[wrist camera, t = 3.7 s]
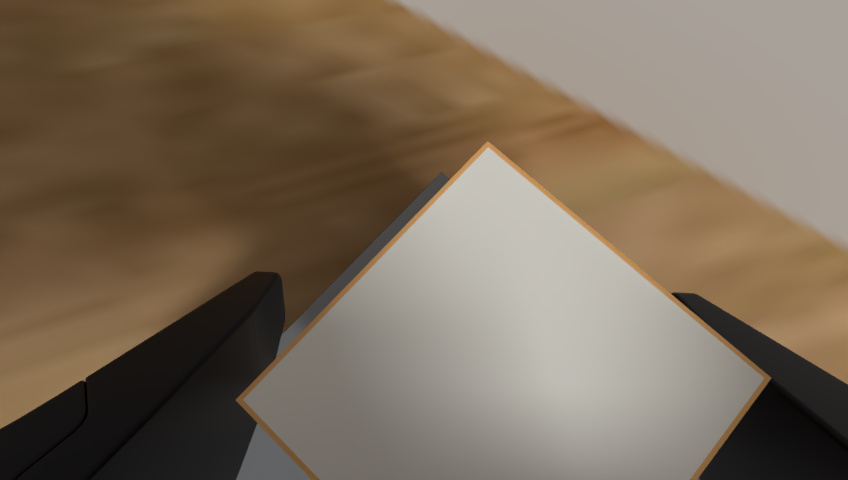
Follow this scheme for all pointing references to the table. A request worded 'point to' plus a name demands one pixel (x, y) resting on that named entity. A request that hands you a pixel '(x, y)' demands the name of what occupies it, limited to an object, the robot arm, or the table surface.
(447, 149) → the table surface
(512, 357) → the plug
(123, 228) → the table surface
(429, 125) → the table surface
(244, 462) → the socket block
